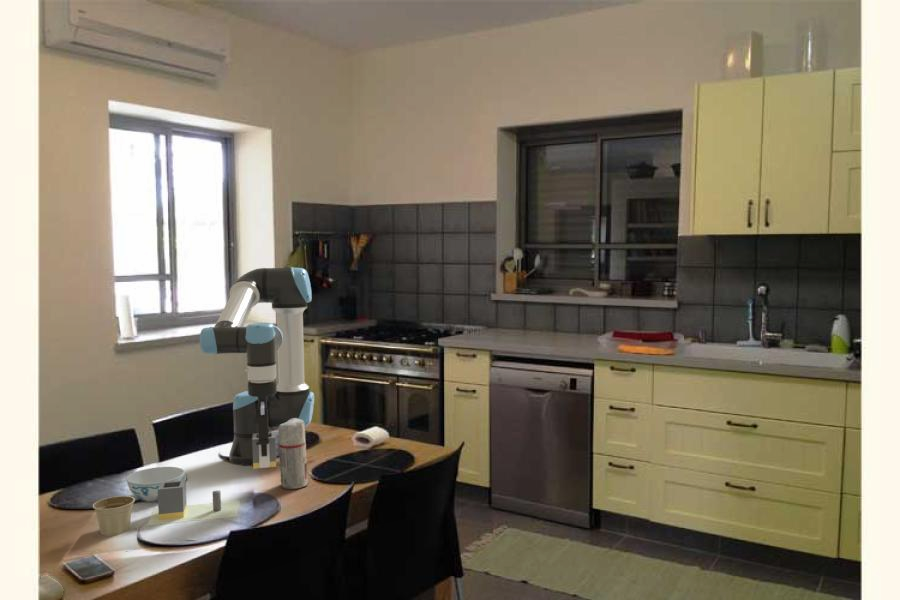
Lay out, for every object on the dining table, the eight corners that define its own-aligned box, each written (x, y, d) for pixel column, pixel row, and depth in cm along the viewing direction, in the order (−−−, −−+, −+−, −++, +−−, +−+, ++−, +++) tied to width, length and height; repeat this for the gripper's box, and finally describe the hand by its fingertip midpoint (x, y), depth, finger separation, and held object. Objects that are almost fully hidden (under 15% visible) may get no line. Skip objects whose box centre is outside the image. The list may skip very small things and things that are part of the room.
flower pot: (103, 529, 176) (102, 496, 175) (141, 527, 177) (140, 494, 176) (87, 544, 167) (85, 509, 166) (128, 543, 168) (126, 508, 167)
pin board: (154, 513, 186) (153, 490, 186) (240, 505, 191) (239, 482, 191) (146, 531, 174) (145, 506, 174) (237, 521, 180) (236, 497, 179)
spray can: (301, 491, 203) (299, 423, 201) (275, 489, 204) (273, 422, 203) (312, 481, 211) (311, 417, 210) (287, 480, 213) (285, 416, 211)
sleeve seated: (162, 511, 184) (161, 482, 183) (186, 509, 185) (185, 479, 185) (158, 519, 178) (157, 489, 177) (183, 517, 179) (182, 487, 179)
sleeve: (253, 461, 192) (252, 433, 191) (276, 459, 193) (275, 431, 193) (253, 468, 186) (252, 439, 185) (276, 466, 188) (275, 437, 187)
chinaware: (129, 515, 185) (127, 487, 185) (126, 498, 199) (125, 471, 198) (188, 505, 192) (187, 478, 192) (182, 489, 206) (181, 463, 205)
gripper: (248, 374, 196) (251, 454, 198) (246, 388, 178) (249, 475, 180) (276, 372, 198) (278, 451, 200) (276, 386, 179) (279, 473, 181)
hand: (264, 463), depth 190 cm, fingers closed on sleeve, 6 cm apart
